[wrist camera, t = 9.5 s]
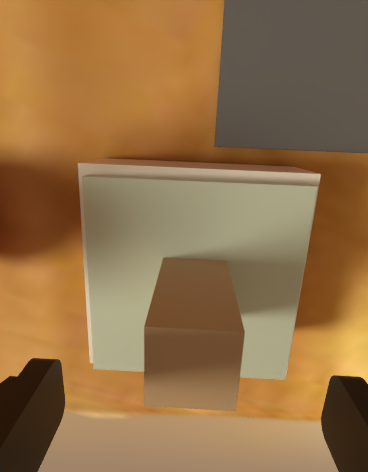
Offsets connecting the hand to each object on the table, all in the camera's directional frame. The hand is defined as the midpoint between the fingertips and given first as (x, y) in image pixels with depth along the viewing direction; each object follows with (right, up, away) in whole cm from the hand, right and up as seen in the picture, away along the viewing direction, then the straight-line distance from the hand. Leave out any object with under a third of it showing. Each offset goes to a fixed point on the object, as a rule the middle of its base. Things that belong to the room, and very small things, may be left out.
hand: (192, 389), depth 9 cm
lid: (0, +2, +8) cm, 8 cm away
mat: (+7, +15, +8) cm, 19 cm away
